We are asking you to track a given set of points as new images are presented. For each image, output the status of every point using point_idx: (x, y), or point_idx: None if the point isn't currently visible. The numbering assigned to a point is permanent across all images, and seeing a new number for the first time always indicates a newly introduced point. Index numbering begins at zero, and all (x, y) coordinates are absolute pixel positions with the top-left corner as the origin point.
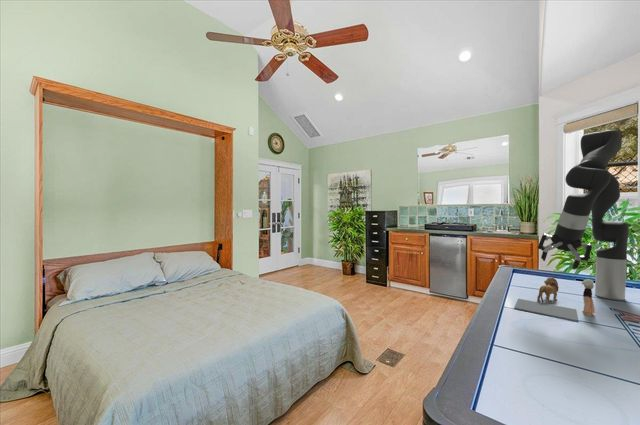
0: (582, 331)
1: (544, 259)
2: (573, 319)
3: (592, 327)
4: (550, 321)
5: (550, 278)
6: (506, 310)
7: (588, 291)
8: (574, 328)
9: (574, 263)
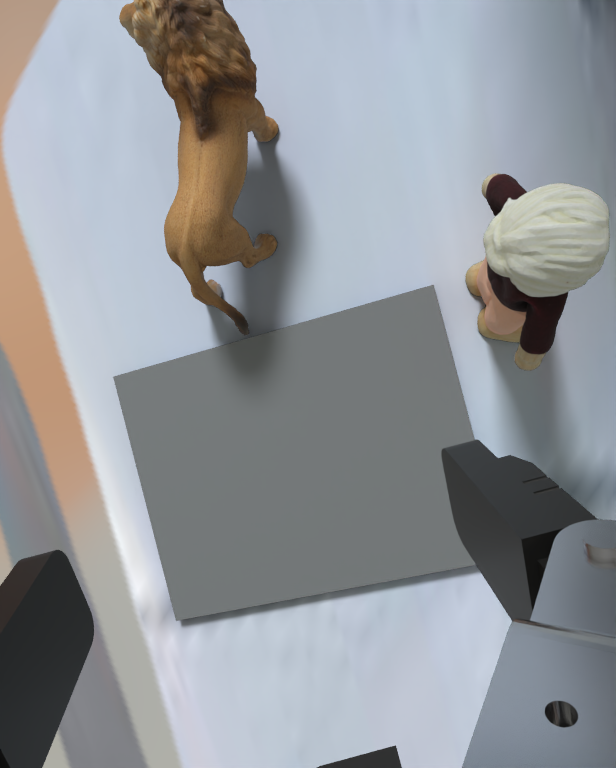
0: None
1: (74, 658)
2: None
3: None
4: (392, 688)
5: (156, 20)
6: (165, 689)
7: (548, 316)
8: None
9: (510, 604)
